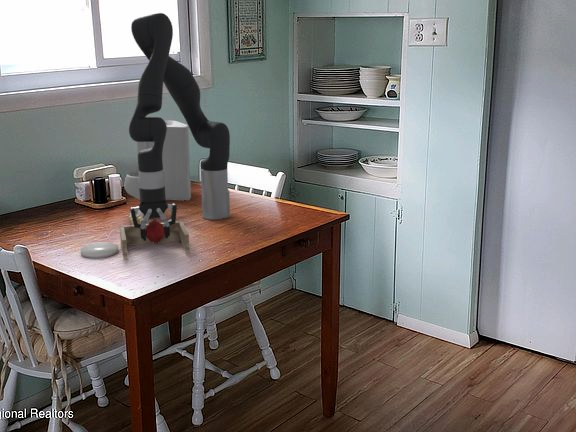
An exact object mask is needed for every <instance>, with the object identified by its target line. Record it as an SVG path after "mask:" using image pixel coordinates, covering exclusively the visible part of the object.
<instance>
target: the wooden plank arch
mask: <svg viewBox="0 0 576 432" xmlns="http://www.w3.org/2000/svg"><path fill="white" fill-rule="evenodd" d="M160 223H161V224H162V225H163V226H164V225H165V224H164V222H160ZM147 226H148V223H147V224H146V225H145V230H146V227H147ZM119 237H120V239H119V241H120V247H121V253H122V258H123V261H125V260H129V258H128V246H133V245H134V246H135V245H146V244H147V245H148V244H154V243H153V242H151V241H150V240H149V239H147V237H146V241H144V240H143V239H142V238H141V232H140V228H135V227H134V225H132V224H131V225H129V224H128V225H119ZM168 242H180V243H181V246H182V248H183V251H184V254H185V255H190V254H191V253H190V234H189V232H188V230H187V228H186V226H185V224H184V222H183V220H178V221H176V222H175V224H172V225H170V236H168V238H165V236H164V238H163V239H162V240H161V241H159V242H158V243H157V244H159V243H168Z"/></svg>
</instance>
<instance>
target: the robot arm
mask: <svg viewBox="0 0 576 432" xmlns="http://www.w3.org/2000/svg"><path fill="white" fill-rule="evenodd" d="M130 28H131V29H130V30H131V34H132V37H133V39H134V41H135V43H136V44H137V46H138V48H139V50H140V51H142V53H143V54H144V57H146V59H147V60H148V62H147V64H146V66H145V68H144V70H143V72H142V73H141V76H140V78H139V81H138V88H137V103H136V105H135V106H136V107H135V108H134V109H135V110H134V112H133V114H132V115H133V116H132V117H131V120H130V122H129V127H128V131H129V132H128V133H129V137H130V138H131V139H132V141H134V142H136V143H137V142H154V146H153V147H152V148H149V149H144V150H141V151H140V152H139V153H137V167H138V168H139V169H138V170H139V176H138V180H139V193H140V200H139V204H138V206H135V207H133V206H130V208H129V211H130V212H131V216H132V220H133V224H134V227H135V228H140V232H141V238H142V239H143V240H144V241H146V230H145V225H146V223H147V221H148V219H151V220H153V219H154V218H156V219H161V220H162V223H164V224H165V225H164V228H165V238H168V236H170V225H172V224H175V222H176V220H177V210H178V207H177V204H176V203H175V202H173V203H168V202H167V200H166V195H165V179H164V173H163V161H162V152H163V145H164V140H165V136H166V132H167V126H166V123H165V121H166V120H165V119H163V118H162V117H158V116H156V117H155V116H153V117H152V116H151V117H150V116H149V117H148V115H151V114H154V113H158V112H160V110H161V109H162V105H163V88H164V86H165V88H166V89H167V91H168V93H169V95H170V97H171V98H172V100H173V101H174V103H175V104H176V106H177V107H178V109H179V111H180V113H181V114H182V116H183V117H184V120H185V121H186V125H188V129H189V130H190V133H191V135H192V136H193V139H194V140H195V142H196V144H197V145H198V146H200V147H201V148H205V149H209V155H208V157H206V158H203V159H201V160H200V163H199V164H200V166H199V167H200V189H201V191H200V192H201V193H200V194H201V215H202V218H203V219H206V220H215V221H216V220H223V218H224V219H226V218H230V217H231V206H230V205H231V198H230V190H229V180H228V179H229V178H228V176H229V175H228V174H229V172H228V163H229V160H230V149H231V147H230V145H231V142H230V141H231V135H230V130H229V128H228V126H227V124H226V123H224V122H221V121H220V122H219V121H212V120H209V119H208V117H206V115H205V113H204V111H203V110H202V108H201V88H200V86H199V84H198V82H197V80H196V79H195V77H194V75H193V74H192V72H191V71H190V70H189V69H188V68H187V66H185V65H183V64H182V63H180V62H179V61H178V60H176V59H174V58H172V56H170V51H171V47H172V43H173V37H174V31H173V30H174V29H173V24H172V20H170V17H169V16H168V15H167V14H165V13H163V12H158V13H153V14H148V15H145V16H140V17H137V18H135V19H134V20H133V21H132V22H131V26H130ZM168 209H169V210H168ZM139 210H140V211H141V212H142V213H143V214H144V215H143V217H142V220H141V223H139V222H137V221H138V220H137V218H136V215H137V214H138V211H139ZM167 210H168V211H170V219H169V220H168V218H167V217H166V215H165V212H166V211H167ZM147 224H148V223H147Z"/></svg>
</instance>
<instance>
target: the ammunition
mask: <svg viewBox="0 0 576 432" xmlns="http://www.w3.org/2000/svg"><path fill="white" fill-rule="evenodd" d="M136 218H137V222H138V223H141V220H142V216H141V215H140V214H138V215H136ZM128 220H129V222H130V223H131V225H134V224H133V220H132V216H131V215H129V216H128ZM151 222H152V219H148V221H147V223H146V224H149V223H151Z"/></svg>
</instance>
